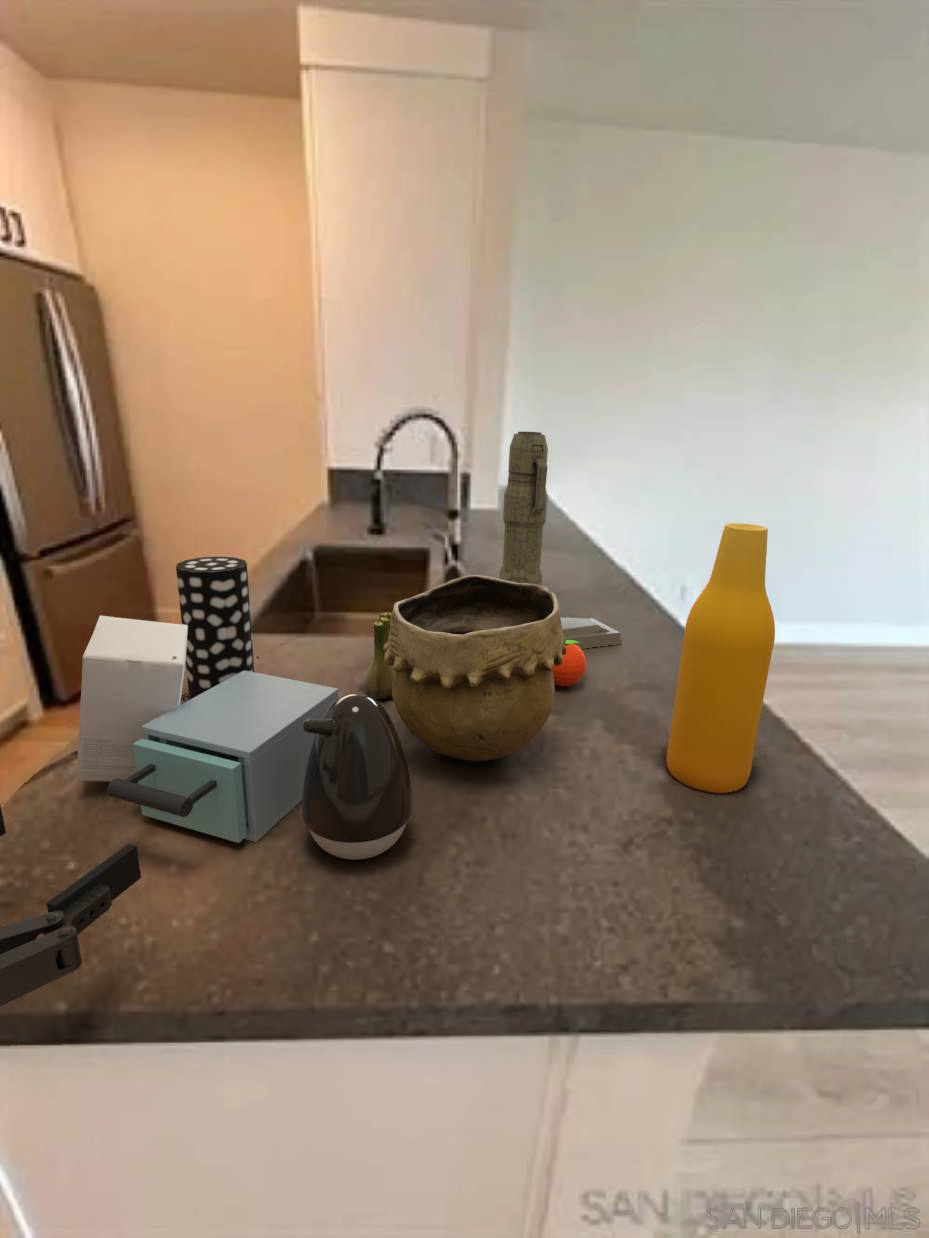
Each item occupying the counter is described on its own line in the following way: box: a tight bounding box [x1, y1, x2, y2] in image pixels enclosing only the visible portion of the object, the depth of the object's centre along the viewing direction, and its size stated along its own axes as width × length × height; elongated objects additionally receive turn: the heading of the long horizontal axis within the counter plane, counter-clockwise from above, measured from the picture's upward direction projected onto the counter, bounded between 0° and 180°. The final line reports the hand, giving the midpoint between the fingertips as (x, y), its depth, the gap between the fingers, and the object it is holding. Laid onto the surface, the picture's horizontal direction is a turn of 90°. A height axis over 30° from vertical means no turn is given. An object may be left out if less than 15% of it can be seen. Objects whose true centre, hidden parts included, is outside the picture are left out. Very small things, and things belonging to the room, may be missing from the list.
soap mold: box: [560, 617, 623, 650], centre depth 120 cm, size 10×20×4 cm, turn 113°
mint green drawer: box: [106, 738, 248, 844], centre depth 67 cm, size 19×11×8 cm, turn 160°
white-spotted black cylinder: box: [175, 556, 255, 701], centre depth 87 cm, size 8×8×20 cm
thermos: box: [499, 431, 549, 586], centre depth 138 cm, size 9×12×35 cm
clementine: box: [553, 640, 587, 687], centre depth 101 cm, size 8×7×7 cm
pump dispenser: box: [301, 692, 413, 861], centre depth 62 cm, size 10×10×15 cm
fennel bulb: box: [365, 612, 395, 700], centre depth 94 cm, size 6×5×12 cm
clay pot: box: [383, 574, 567, 762], centre depth 79 cm, size 21×21×20 cm
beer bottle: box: [666, 522, 776, 794], centre depth 74 cm, size 9×9×29 cm
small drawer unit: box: [141, 670, 340, 843], centre depth 71 cm, size 16×13×10 cm
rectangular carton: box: [75, 614, 188, 782], centre depth 71 cm, size 9×9×15 cm
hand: (65, 837), depth 51 cm, fingers open, 13 cm apart
